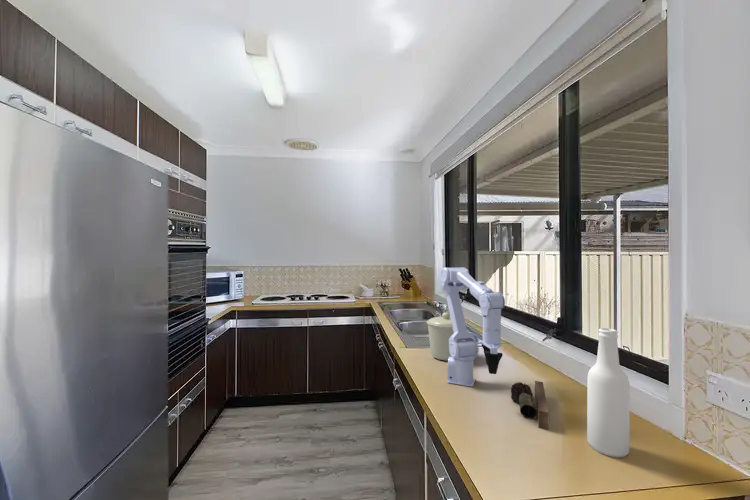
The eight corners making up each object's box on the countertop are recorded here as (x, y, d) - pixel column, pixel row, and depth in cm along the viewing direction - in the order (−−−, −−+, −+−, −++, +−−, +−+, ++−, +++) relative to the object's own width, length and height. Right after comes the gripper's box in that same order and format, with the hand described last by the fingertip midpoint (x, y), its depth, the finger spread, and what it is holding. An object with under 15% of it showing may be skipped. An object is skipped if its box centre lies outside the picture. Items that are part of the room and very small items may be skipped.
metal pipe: (537, 420, 100) (537, 401, 100) (513, 417, 102) (513, 398, 102) (531, 396, 117) (531, 379, 117) (510, 393, 119) (510, 377, 119)
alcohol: (579, 444, 87) (580, 327, 87) (598, 435, 92) (598, 324, 92) (617, 462, 80) (618, 335, 80) (636, 452, 84) (636, 331, 84)
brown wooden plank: (538, 427, 95) (538, 410, 95) (534, 394, 117) (534, 380, 117) (548, 429, 94) (548, 412, 94) (542, 396, 116) (542, 382, 116)
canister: (470, 364, 149) (470, 316, 149) (429, 363, 149) (429, 315, 149) (460, 351, 167) (460, 309, 167) (423, 351, 167) (424, 309, 168)
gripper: (477, 323, 121) (477, 361, 121) (480, 333, 106) (480, 376, 106) (498, 324, 119) (498, 363, 119) (504, 334, 105) (504, 378, 105)
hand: (491, 369), depth 113 cm, fingers open, 7 cm apart
